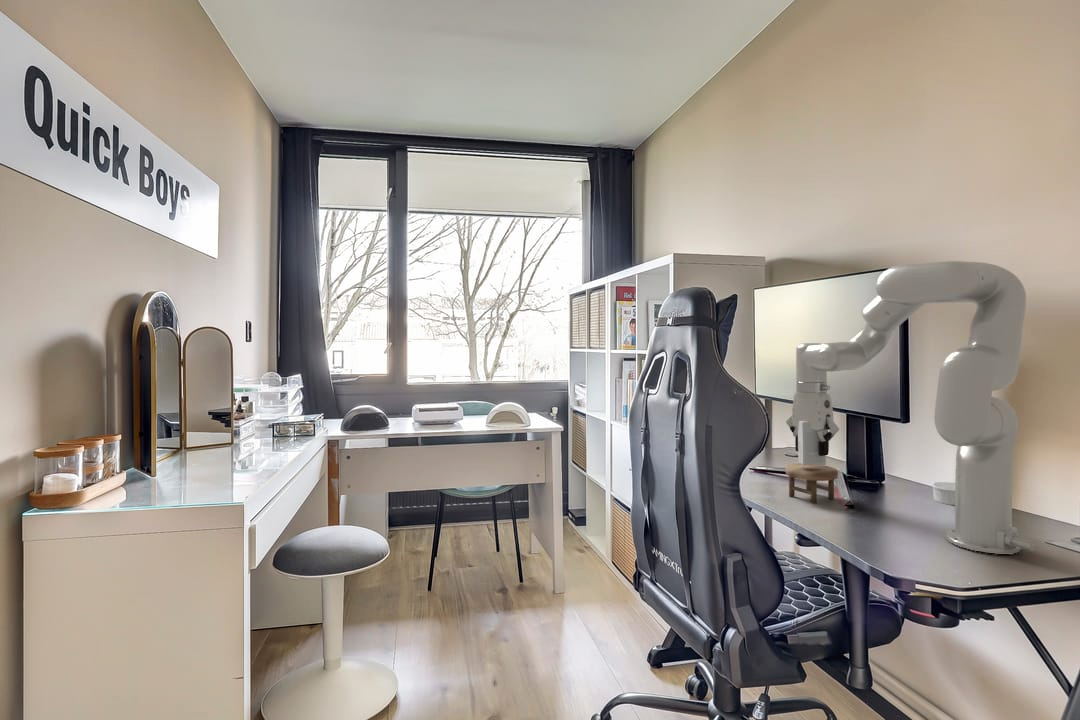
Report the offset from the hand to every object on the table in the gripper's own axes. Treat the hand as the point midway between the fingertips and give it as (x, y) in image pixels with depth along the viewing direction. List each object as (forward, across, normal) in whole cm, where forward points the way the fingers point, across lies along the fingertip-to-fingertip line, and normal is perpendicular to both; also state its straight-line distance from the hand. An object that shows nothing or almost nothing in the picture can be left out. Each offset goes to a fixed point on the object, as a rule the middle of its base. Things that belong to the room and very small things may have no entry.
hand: (811, 452), depth 157 cm
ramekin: (+13, -21, -28) cm, 37 cm away
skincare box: (+3, 0, 0) cm, 3 cm away
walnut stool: (+13, 0, 0) cm, 13 cm away
